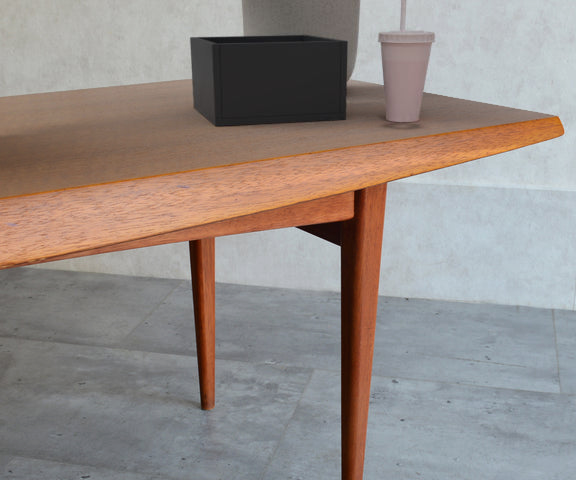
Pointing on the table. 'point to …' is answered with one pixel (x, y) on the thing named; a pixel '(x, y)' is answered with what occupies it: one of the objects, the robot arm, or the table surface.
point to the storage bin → (269, 79)
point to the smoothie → (404, 70)
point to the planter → (305, 21)
